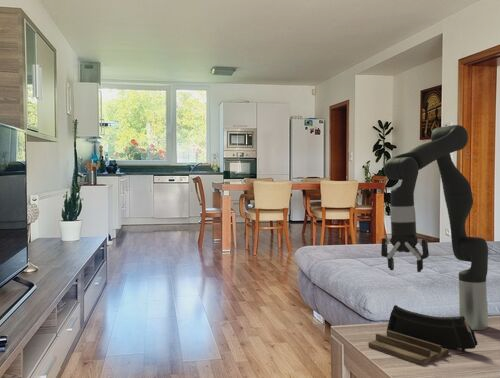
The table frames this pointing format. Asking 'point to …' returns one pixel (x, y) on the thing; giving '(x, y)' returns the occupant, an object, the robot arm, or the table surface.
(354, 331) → the table surface
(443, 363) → the table surface
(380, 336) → the stand
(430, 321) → the magazine
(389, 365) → the table surface
